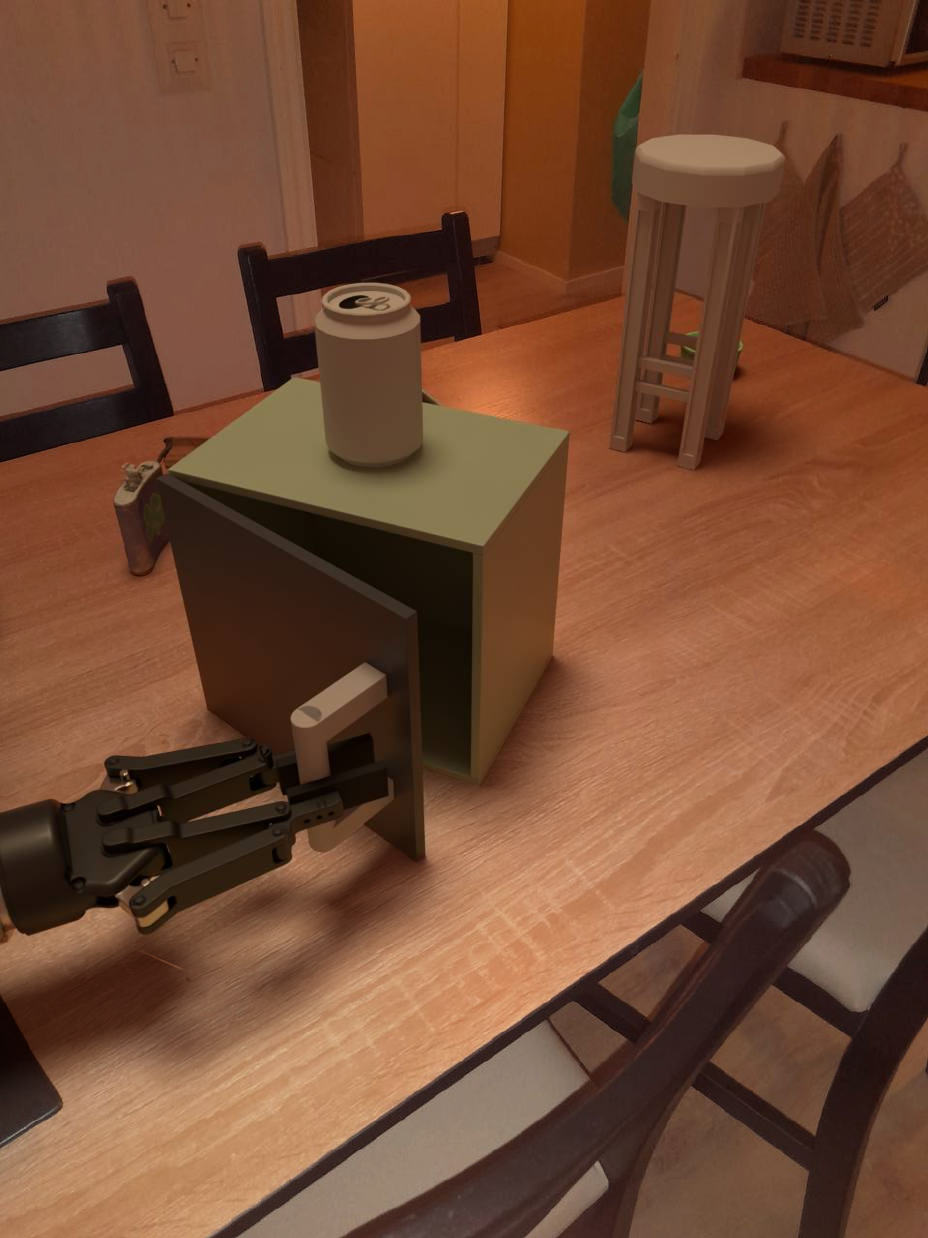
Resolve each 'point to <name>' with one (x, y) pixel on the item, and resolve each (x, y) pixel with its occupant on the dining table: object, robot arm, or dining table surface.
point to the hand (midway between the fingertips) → (378, 764)
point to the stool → (678, 178)
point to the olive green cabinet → (420, 545)
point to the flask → (141, 516)
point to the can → (370, 373)
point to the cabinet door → (301, 657)
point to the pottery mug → (179, 448)
